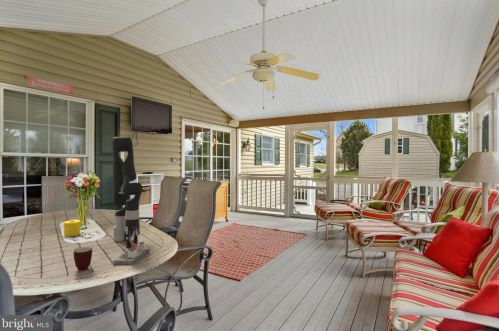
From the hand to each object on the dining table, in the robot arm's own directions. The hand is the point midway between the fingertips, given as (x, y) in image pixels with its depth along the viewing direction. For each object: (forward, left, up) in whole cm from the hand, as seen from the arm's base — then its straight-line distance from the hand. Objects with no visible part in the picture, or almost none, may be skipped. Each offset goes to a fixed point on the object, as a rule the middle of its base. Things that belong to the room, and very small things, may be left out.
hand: (132, 245), depth 157 cm
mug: (-17, -18, -7) cm, 26 cm away
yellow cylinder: (-64, +43, -7) cm, 78 cm away
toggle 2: (+3, +6, -4) cm, 8 cm away
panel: (0, 0, -6) cm, 6 cm away
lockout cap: (0, 0, -5) cm, 4 cm away
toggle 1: (+3, -6, -4) cm, 8 cm away
